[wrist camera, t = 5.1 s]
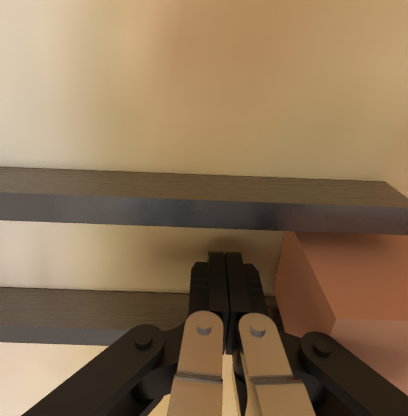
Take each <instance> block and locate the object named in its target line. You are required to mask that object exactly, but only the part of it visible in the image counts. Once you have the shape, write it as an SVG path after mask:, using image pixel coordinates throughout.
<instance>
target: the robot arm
mask: <svg viewBox="0 0 408 416" xmlns="http://www.w3.org/2000/svg"><path fill="white" fill-rule="evenodd" d="M260 281H261V280H260V276H259V272H258V271H257V269H256V268H255V267H254V266H253V264H243V261H242V255H241V252H225V254H224V252H218V251H208V262H196V263H195V265H194V266H193V267H192V269H191V282H190V296H189V310H188V316H187V318H186V320H185V321H184V322H183V323H182V324H181V325H180V326H178V327H176V328H174V329H171V330H167V331H163V332H162V331H161V330H160V329H159V328H158V327H156V326H154V325H151V324H142V325H138V326H136V327H134V328H132V329H131V330H129V331H128V332H127V333H125V334H124V335H123V336H122V337H120V338H119V339H118V340H117V341H115V342H114V343H113V344H111V345H110V346H109V347H108V348H106V349H105V350H104V351H103V352H101V353H100V354H99V355H98V356H96V357H95V358H94V359H92V360H91V361H90V362H89V363H87V364H86V365H85V366H84V367H82V368H81V369H80V370H79V371H77V372H76V373H75V374H73V375H72V376H71V377H70V378H68V379H67V380H66V381H65V382H63V383H62V384H61V385H59V386H58V387H57V388H56V389H54V390H53V391H52V392H51V393H49V394H48V395H47V396H46V397H44V398H43V399H42V400H40V401H39V402H38V403H37V404H35V405H34V406H33V407H32V408H30V409H29V410H28V411H27V412H25V413H24V414H23V415H21V416H148V414H149V413H150V412H151V411H152V410H153V409H154V408H155V407H156V406H157V405H158V403H159V402H160V401H161V400H162V398H163V397H164V395H168V394H171V395H170V401H169V406H168V412H167V416H222V393H223V379H222V356H223V354H224V352H225V350H226V354H227V355H232V359H233V367H232V380H233V386H234V393H235V399H236V406H237V412H238V416H408V396H407V395H406V394H405V393H404V392H402V391H401V390H400V389H398V388H397V387H396V386H394V385H393V384H392V383H391V382H389V381H388V380H387V379H385V378H384V377H383V376H381V375H380V374H379V373H378V372H376V371H375V370H374V369H372V368H371V367H370V366H368V365H367V364H366V363H365V362H363V361H362V360H361V359H359V358H358V357H357V356H355V355H354V354H353V353H351V352H350V351H349V350H348V349H346V348H345V347H344V346H342V345H341V344H340V343H338V342H337V341H336V340H335V339H333V338H332V337H330V336H329V335H327V334H325V333H322V332H317V331H312V332H308V333H306V334H304V335H303V337H302V338H300V337H297V336H294V335H291V334H288V333H285V332H283V331H281V330H280V329H278V328H277V327H276V325H275V323H274V322H273V321H272V320H271V319H270V318H269V314H268V310H267V306H266V302H265V297H264V293H263V289H262V285H261V282H260Z"/></svg>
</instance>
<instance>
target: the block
mask: <svg viewBox="0 0 408 416" xmlns="http://www.w3.org/2000/svg"><path fill="white" fill-rule="evenodd" d="M273 290H274V293H275V297H276V301H277V304H278V308H279V312H280V315H281V319H282V322H283V326H284V330H285V333H288V334H291V335H294V336H297V337H300V338H302V337H303V335H304V334H306V333H308V332H312V331H317V332H322V333H325V334H327V335H329V336H330V337H332V338H333V339H335V340H336V341H337V342H338V343H340V344H341V345H342V346H344V347H345V348H346V349H348V350H349V351H350V352H351V353H353V354H354V355H355V356H357V357H358V358H359V359H361V360H362V361H363V362H365V363H366V364H367V365H368V366H370V367H371V368H372V369H374V370H375V371H376V372H378V373H379V374H380V375H381V376H383V377H384V378H385V379H387V380H388V381H389V382H391V383H392V384H393V385H394V386H396V387H397V388H398V389H400V390H401V391H402V392H404V393H405V394H406V395H407V396H408V235H384V234H357V233H330V232H303V231H285V234H284V239H283V244H282V249H281V254H280V259H279V264H278V269H277V274H276V278H275V283H274V288H273Z"/></svg>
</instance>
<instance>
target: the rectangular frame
mask: <svg viewBox="0 0 408 416" xmlns="http://www.w3.org/2000/svg"><path fill="white" fill-rule="evenodd" d="M0 220H9V221H36V222H62V223H89V224H116V225H143V226H169V227H196V228H223V229H250V230H277V231H303V232H330V233H357V234H384V235H408V198H407V197H405V196H404V195H402V194H401V193H400V192H398V191H397V190H396V189H394V188H393V187H392V186H390V185H389V184H387V183H386V182H374V181H348V180H322V179H296V178H271V177H245V176H219V175H193V174H167V173H141V172H115V171H89V170H63V169H38V168H12V167H0ZM189 296H190V294H170V293H142V292H114V291H86V290H58V289H30V288H2V287H0V342H13V343H42V344H71V345H100V346H110V345H111V344H113V343H114V342H115V341H117V340H118V339H119V338H120V337H122V336H123V335H124V334H125V333H127V332H128V331H129V330H131V329H132V328H134V327H136V326H138V325H142V324H151V325H154V326H156V327H158V328H159V329H160V330H161V331H162V332H163V331H167V330H171V329H174V328H176V327H178V326H180V325H181V324H182V323H183V322H184V321H185V320H186V318H187V316H188V310H189ZM265 302H266V306H267V310H268V314H269V318H270V319H271V320H272V321H273V322H274V323H275V325H276V327H277V328H278V329H280V330H281V331H283V332H285V330H284V326H283V322H282V319H281V315H280V312H279V308H278V304H277V301H276V297H265Z"/></svg>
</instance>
